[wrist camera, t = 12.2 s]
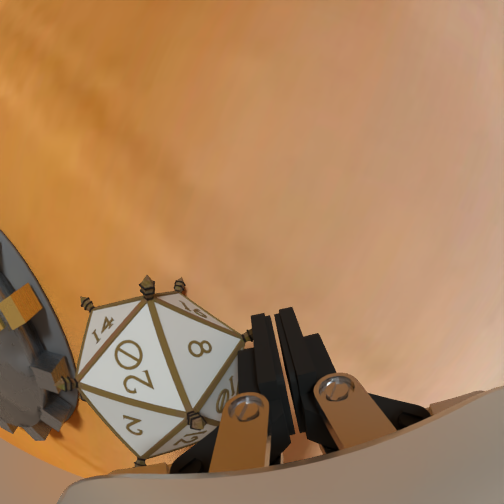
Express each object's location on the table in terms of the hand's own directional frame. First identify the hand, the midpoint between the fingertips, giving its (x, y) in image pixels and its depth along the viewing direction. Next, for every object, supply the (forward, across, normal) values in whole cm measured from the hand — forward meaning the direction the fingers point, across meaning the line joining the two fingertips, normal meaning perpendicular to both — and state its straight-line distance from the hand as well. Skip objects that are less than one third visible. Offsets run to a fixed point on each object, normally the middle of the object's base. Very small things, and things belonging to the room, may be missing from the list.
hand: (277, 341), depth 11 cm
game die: (+4, +5, +1) cm, 7 cm away
